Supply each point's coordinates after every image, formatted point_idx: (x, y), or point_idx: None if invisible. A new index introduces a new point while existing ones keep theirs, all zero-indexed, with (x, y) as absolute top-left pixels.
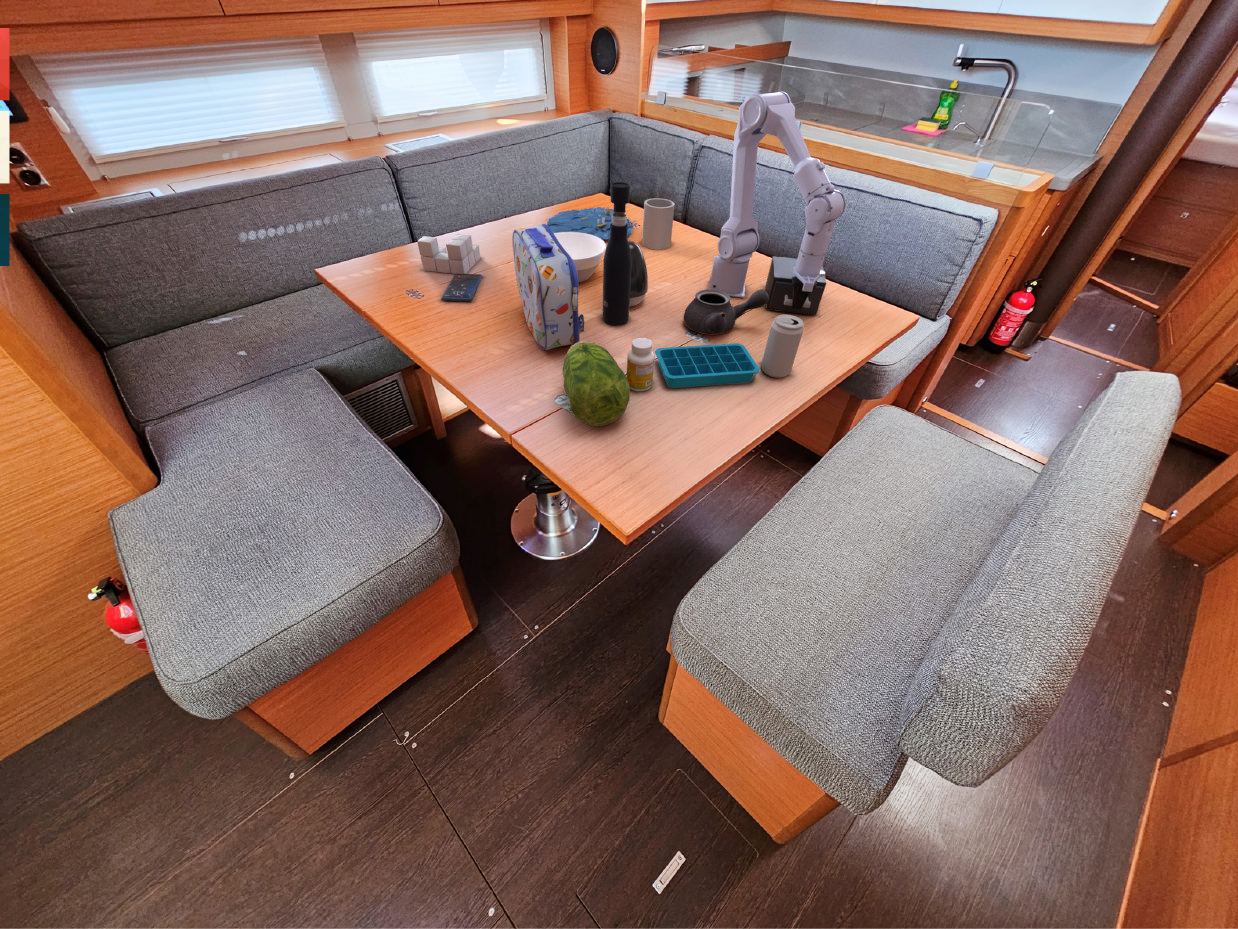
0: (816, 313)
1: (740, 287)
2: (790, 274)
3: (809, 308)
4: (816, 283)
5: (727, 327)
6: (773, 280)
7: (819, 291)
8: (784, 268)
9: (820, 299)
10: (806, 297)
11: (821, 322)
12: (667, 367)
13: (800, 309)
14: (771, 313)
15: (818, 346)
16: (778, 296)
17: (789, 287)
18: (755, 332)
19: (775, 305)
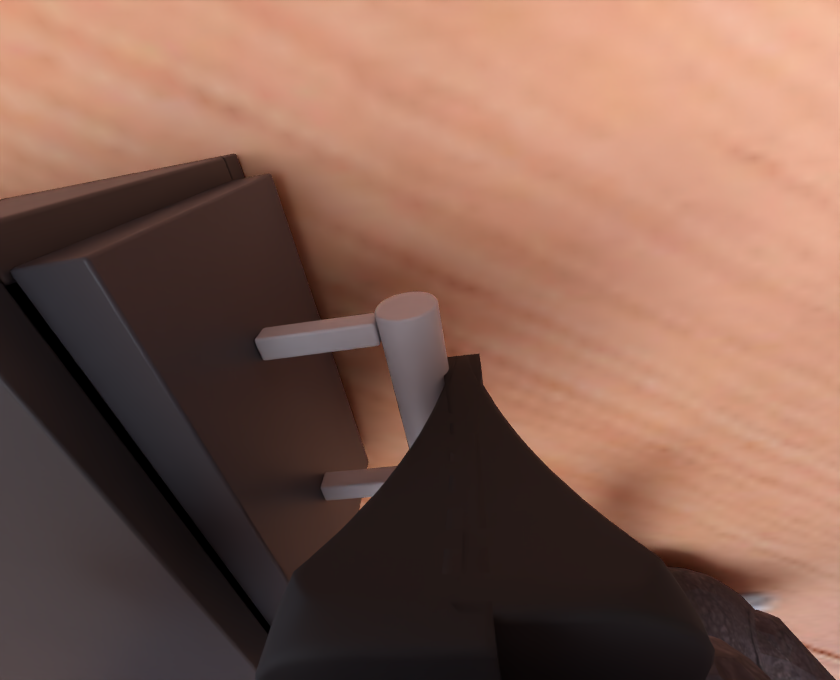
0: (228, 156)
1: None
2: (111, 636)
3: (279, 249)
4: (562, 624)
5: (741, 611)
6: None
7: (156, 278)
8: (21, 668)
9: (148, 187)
10: (515, 434)
11: (341, 86)
12: None
13: (479, 355)
14: (382, 430)
15: (829, 73)
16: (342, 511)
17: (301, 554)
18: (643, 473)
19: (358, 458)
